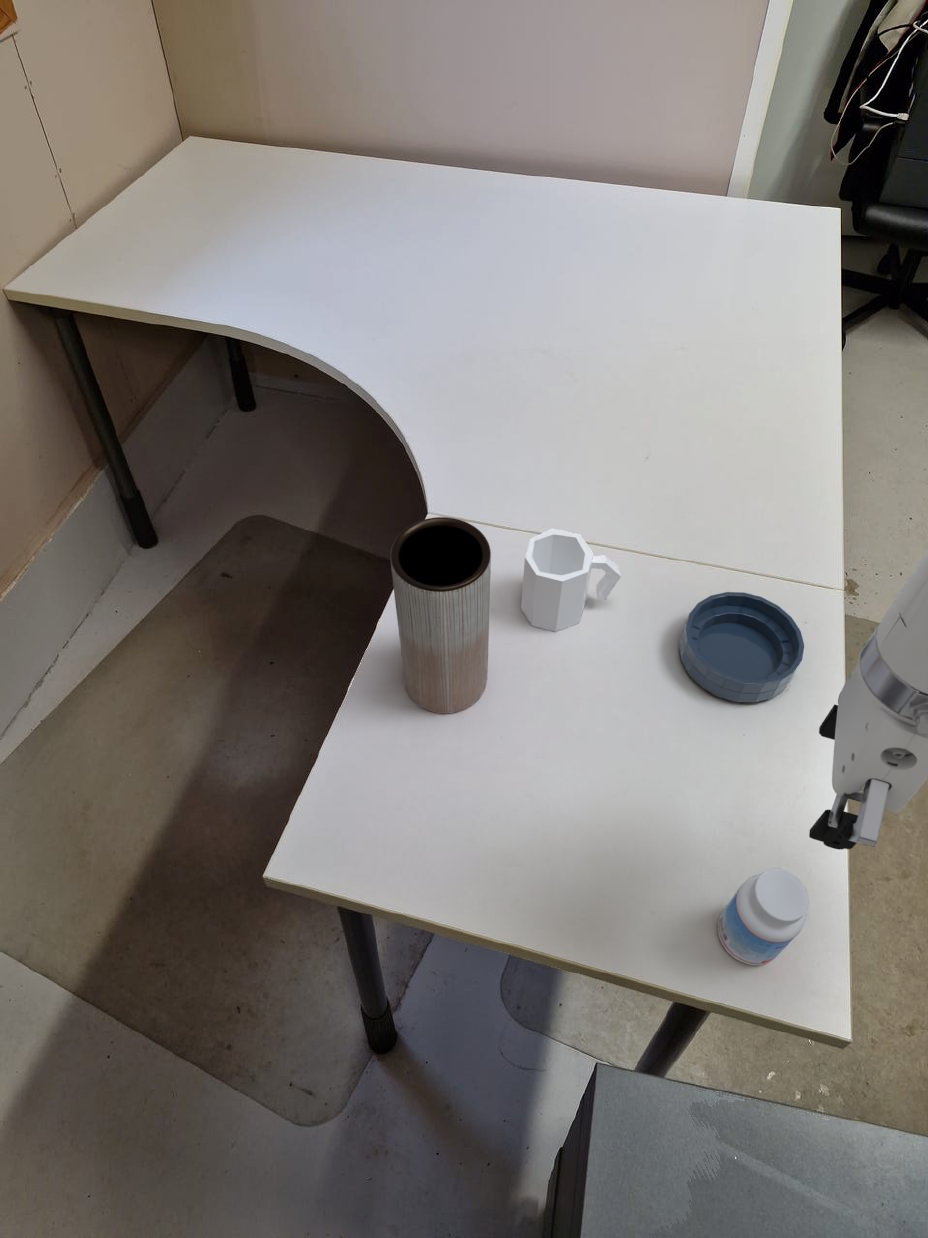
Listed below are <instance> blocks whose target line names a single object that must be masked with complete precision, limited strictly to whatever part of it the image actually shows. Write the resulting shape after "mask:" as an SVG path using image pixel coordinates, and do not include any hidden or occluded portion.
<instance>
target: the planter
mask: <svg viewBox="0 0 928 1238" xmlns="http://www.w3.org/2000/svg"><path fill="white" fill-rule="evenodd" d="M389 557H390V567H391V568H390V569H391V578H392V585H393V595H394V602H395V612H396V619H397V620H396V621H397V628H398V638H399V646H400V655H401V663H402V664H401V665H402V673H403V680H404V685H405V689H406V691H407V693H408V695H409V697H410V699H412V701H413V702H414V703H415V704H417V705H418V706H419V707H421V708H423V709H425V710H427V711H428V712H429V711H430V712H432V713H437V714H453V713H458V712H461V711H464V710H466V709H468V708H470V707H472V706H473V705H474V704H476V703H477V702H478V700H479V699H481V697H482V696H483V694H484V692H485V690H486V687H487V683H488V674H489V672H488V670H489V641H490V640H489V637H490V601H491V567H492V552H491V546H490V543H489V541H488V539H487V538H486V536H485V535H484V533H483V532H482V531H480V529H478V528H477V527H476V526H474V525H473V524H471V523H469V522H467V521H464V520H462V519H458V518H454V517H447V516H446V517H445V516H438V517H437V516H435V517H429V518H425V519H421V520H418V521H417V522H414V523H412V524H410V525H408V526H407V527H405V528H404V529H403V530H402V531H401V532H400V533H399V534H398V535H397V536H396V538H395V539H394V541H393V542H392V545H391V548H390V555H389Z"/></svg>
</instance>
